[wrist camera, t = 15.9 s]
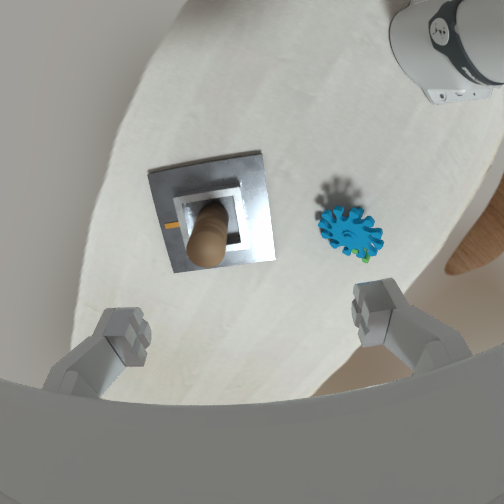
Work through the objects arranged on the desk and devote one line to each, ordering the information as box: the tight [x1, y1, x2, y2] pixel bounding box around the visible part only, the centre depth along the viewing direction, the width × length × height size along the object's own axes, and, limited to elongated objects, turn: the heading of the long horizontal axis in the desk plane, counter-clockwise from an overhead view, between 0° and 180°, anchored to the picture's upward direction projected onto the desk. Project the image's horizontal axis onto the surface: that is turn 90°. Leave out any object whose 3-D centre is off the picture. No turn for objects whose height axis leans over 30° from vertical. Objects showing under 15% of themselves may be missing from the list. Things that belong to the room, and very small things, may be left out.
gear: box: [318, 206, 384, 263], centre depth 41 cm, size 11×6×10 cm
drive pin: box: [186, 204, 229, 268], centre depth 37 cm, size 4×4×10 cm
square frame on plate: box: [147, 154, 275, 273], centre depth 41 cm, size 16×16×3 cm
